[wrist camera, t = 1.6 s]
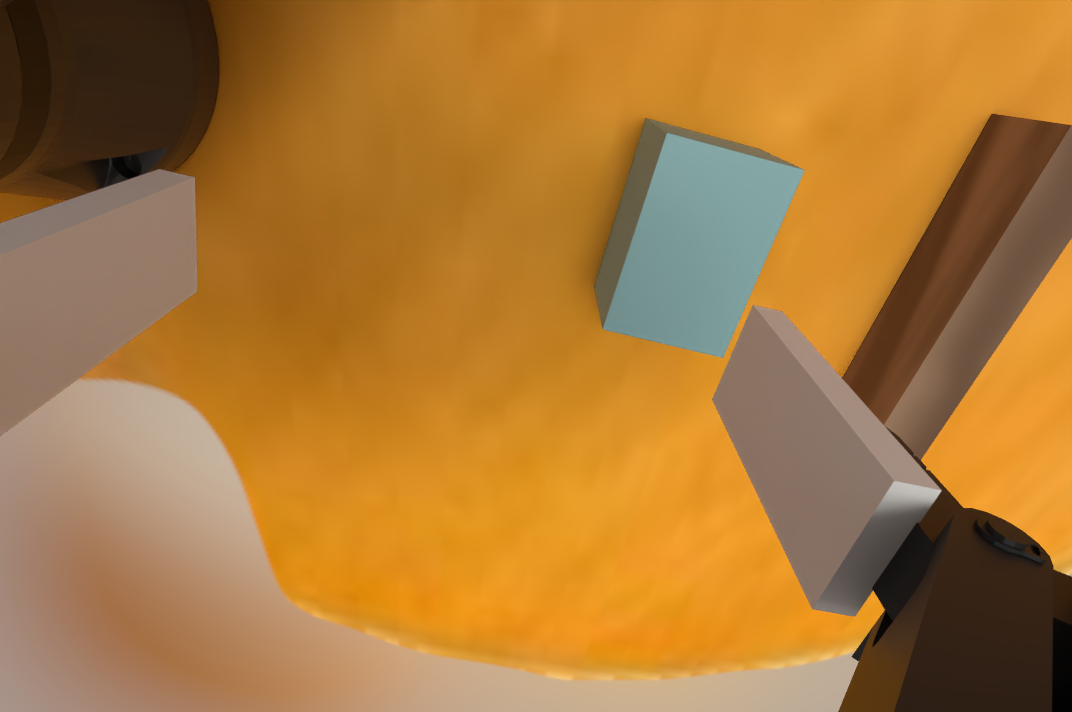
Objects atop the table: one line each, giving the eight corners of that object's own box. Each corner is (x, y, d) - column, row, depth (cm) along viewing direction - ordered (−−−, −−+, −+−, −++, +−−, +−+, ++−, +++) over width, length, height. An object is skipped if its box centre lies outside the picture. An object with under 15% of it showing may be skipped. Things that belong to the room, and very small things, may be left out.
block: (593, 285, 34) (602, 329, 29) (645, 117, 30) (667, 132, 25) (695, 309, 35) (723, 357, 29) (759, 149, 31) (804, 170, 25)
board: (820, 417, 37) (857, 467, 33) (992, 114, 30) (1071, 125, 25) (864, 428, 38) (907, 479, 33) (1046, 131, 30) (1134, 145, 25)
